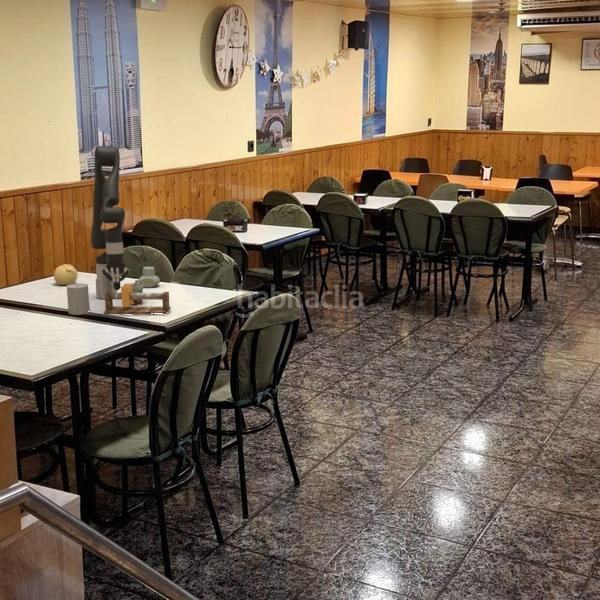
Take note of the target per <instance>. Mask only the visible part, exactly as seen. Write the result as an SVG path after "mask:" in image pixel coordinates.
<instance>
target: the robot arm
mask: <svg viewBox="0 0 600 600" xmlns="http://www.w3.org/2000/svg"><path fill="white" fill-rule="evenodd" d="M93 160H94V161H93V162H94V184H93V187H94V188H93V199H92V200H93V202H92V203H93V204H92V210H93V211H92V214H93V215H92V222H91V223H92V225H91V232H90V243H91V247H92V249H94V250H104V249H105V250H104V251H103V253H102V254H99V255H97V256H95V270H96V273H95V274H96V278H95V291H96V292H95V294H96V299H100V298H101V299H100V300H105V293H107V292H112V293H118V291H119V290H121V287H122V286H121V282H122V281H124V280H125V279H126V278H127V276H128V275H129V273H130V272H131V269H130V268H128V267H127V266H126V264H125V257H124V255H125V253H124V252H125V251H124V243H123V227H124V225H123V224H124V221H125V219H126V218H125V217H126V216H125V215H126V211H125V209H124V208H123V207H122V206H118V205H119V203H120V190H119V188H120V187H119V185H120V184H119V182H120V168H121V167H120V165H121V163H120V162H121V161H120V160H121V157H120V150H119V148H118V147H117V146H108V145H97V146H95V148H94V159H93ZM102 167H111V168H112V170H111V172H110V173H109V176H107V177H108V178H106V177H105V174H104V172H103V169H102ZM103 224H116V226H113V227H111V228H107V229H105V228H104V229H102V226H103ZM122 273H123V275H122Z"/></svg>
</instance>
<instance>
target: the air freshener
mask: <svg viewBox="0 0 600 600" xmlns="http://www.w3.org/2000/svg"><path fill="white" fill-rule="evenodd" d="M155 274H156V273H155V267H154V266H144V267H143V268H142V275H141V276H140V277H139V278H138V281H142V282H143V284H144V287H143V288H146V289H150V288H154V287H157V286H158V285H159V284H160V282H161V279H160V277H159V276H157V274H156V275H155Z"/></svg>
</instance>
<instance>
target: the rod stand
mask: <svg viewBox="0 0 600 600" xmlns="http://www.w3.org/2000/svg"><path fill="white" fill-rule="evenodd" d="M129 296H130V299H131V300H142V301H143V300H145V301H146V300H150V301H151V300H152V301H153V300H154V301H155V300H156V301H157V300H159V301H160V300H161V301H162V306H152V305H150V306H129V307H122V305H121V306H118V305H116V306H114V302H113V300H122V295H121V292H117V293H112V292H107V293H105V299H104V304H105V307H104V308H105V310H104V311H103V312H104V314H151V313H153V314H154V313H163V314H166V313H167V312H168V311H169V310H170V309H171V310H172V308H171V307H172V306H171V305H170V292H169V291H163V292H143V293H129ZM171 310H170V311H171ZM170 311H169V312H170Z"/></svg>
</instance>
